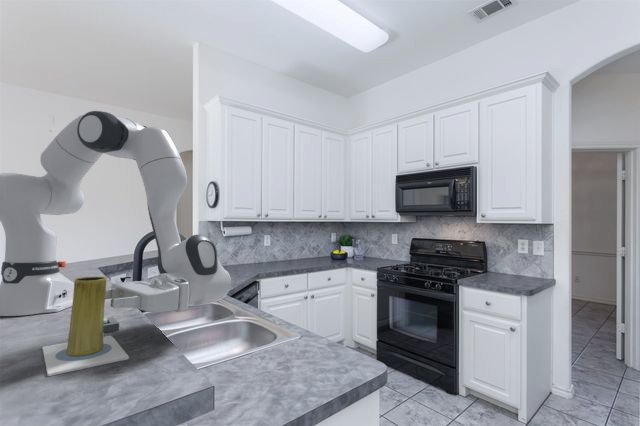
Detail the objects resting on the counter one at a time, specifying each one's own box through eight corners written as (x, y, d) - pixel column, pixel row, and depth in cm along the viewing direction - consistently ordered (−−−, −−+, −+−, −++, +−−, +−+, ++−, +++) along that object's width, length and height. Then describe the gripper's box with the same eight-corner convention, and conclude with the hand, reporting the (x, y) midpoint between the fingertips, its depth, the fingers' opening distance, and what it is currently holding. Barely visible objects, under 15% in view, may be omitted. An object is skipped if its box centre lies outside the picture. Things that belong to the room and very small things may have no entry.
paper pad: (42, 348, 65) (42, 346, 65) (111, 337, 74) (111, 334, 74) (47, 376, 54) (47, 373, 54) (128, 359, 62) (129, 356, 62)
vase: (106, 344, 68) (111, 276, 69) (99, 354, 62) (105, 280, 63) (71, 347, 66) (77, 276, 66) (60, 358, 60) (67, 281, 61)
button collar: (79, 328, 79) (79, 321, 79) (112, 323, 84) (113, 317, 84) (83, 335, 74) (84, 328, 74) (118, 329, 79) (119, 323, 79)
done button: (90, 324, 79) (90, 318, 79) (105, 322, 81) (106, 316, 81) (92, 327, 77) (93, 321, 77) (108, 325, 79) (108, 319, 79)
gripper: (149, 273, 84) (86, 278, 73) (192, 283, 71) (124, 291, 60) (148, 298, 83) (84, 307, 72) (190, 312, 71) (121, 325, 60)
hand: (103, 300), depth 66 cm, fingers open, 8 cm apart
